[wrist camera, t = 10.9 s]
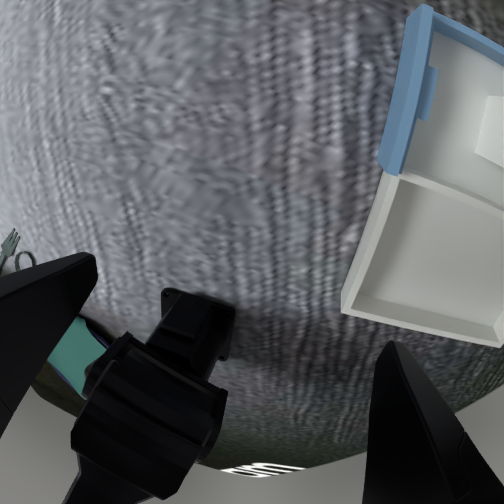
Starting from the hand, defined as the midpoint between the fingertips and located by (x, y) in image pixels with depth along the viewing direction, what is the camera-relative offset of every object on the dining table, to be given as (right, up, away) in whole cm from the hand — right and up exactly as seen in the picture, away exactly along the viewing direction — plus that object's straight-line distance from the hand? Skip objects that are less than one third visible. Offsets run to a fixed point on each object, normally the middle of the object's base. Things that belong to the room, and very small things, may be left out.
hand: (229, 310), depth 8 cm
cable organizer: (+16, +5, +8) cm, 18 cm away
